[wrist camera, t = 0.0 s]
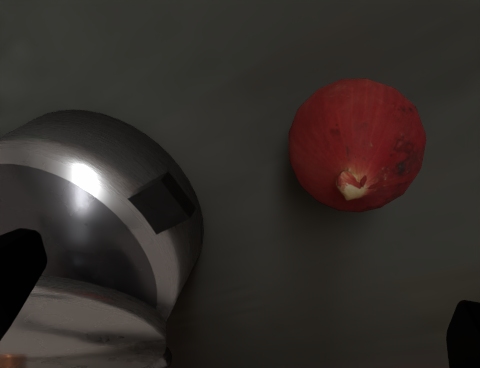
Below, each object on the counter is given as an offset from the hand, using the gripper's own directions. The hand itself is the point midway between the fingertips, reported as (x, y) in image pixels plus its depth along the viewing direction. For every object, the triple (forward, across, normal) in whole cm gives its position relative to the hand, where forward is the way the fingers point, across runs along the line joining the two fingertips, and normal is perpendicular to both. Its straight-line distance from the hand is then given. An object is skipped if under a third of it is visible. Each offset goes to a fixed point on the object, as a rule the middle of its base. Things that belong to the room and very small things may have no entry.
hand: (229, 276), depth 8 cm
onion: (+15, -3, +1) cm, 15 cm away
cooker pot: (+15, +13, +10) cm, 22 cm away
